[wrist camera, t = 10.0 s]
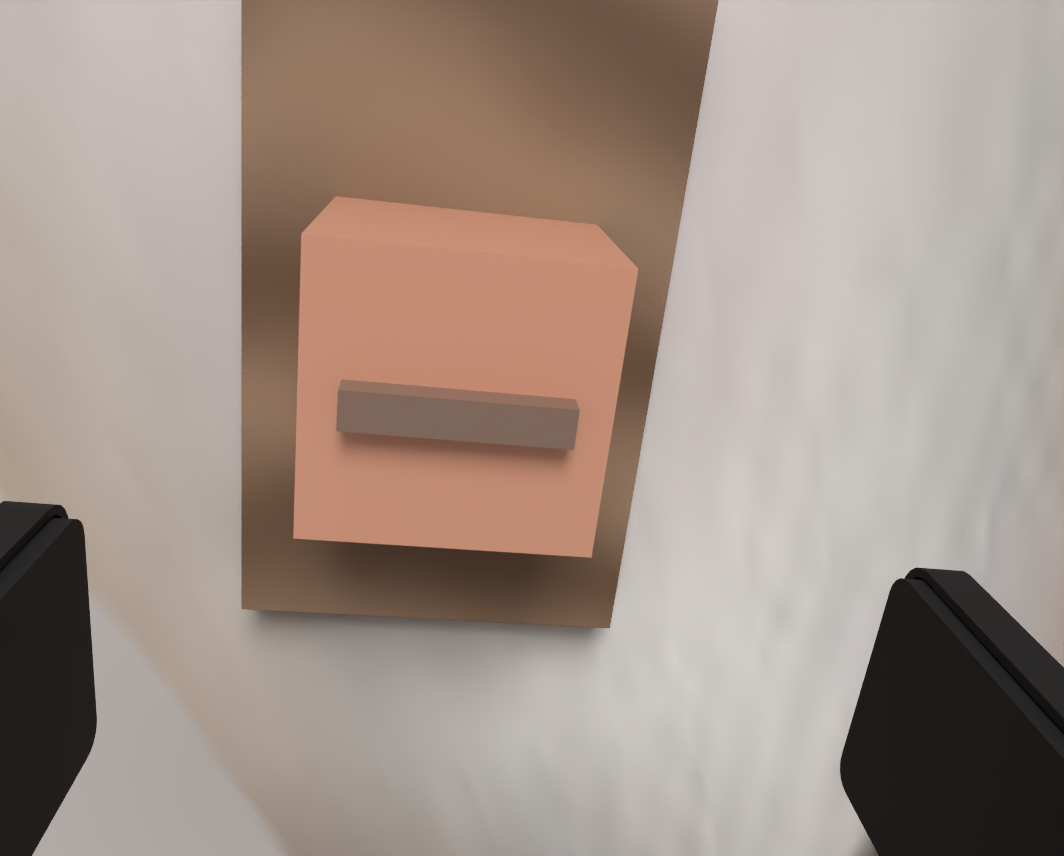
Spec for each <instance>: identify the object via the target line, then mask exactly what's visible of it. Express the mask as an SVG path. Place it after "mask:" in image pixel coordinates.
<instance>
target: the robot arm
mask: <svg viewBox="0 0 1064 856" xmlns="http://www.w3.org/2000/svg"><path fill="white" fill-rule="evenodd" d="M90 626H91V625H90V610H89V595H88V580H87V565H86V550H85V535H84V528H83V525H82V523H81V522H80V521H79V520H78V519H68V515H67V513H66V510H65V509H64V508H63V507H62V506H61V505H52V504H38V503H25V502H11V501H3V502H2V503H0V856H32V854H33V853H34V851H35V849H36V847H37V846H38V844H39V842H40V840H41V838H42V837H43V835H44V833H45V831H46V830H47V828H48V826H49V824H50V823H51V820H52V819H53V817H54V816H55V814H56V812H57V810H58V809H59V807H60V805H61V803H62V801H63V800H64V798H65V796H66V794H67V793H68V791H69V789H70V787H71V785H72V784H73V782H74V780H75V779H76V776H77V775H78V773H79V771H80V770H81V768H82V766H83V764H84V763H85V761H86V759H87V757H88V755H89V753H90V751H91V748H92V745H93V742H94V738H95V733H96V724H97V716H96V700H95V687H94V686H95V685H94V671H93V657H92V656H93V655H92V640H91V627H90ZM840 773H841V780H842V785H843V787H844V790H845V792H846V794H847V796H848V798H849V800H850V802H851V804H852V806H853V807H854V809H855V811H856V813H857V815H858V817H859V819H860V821H861V823H862V825H863V826H864V828H865V830H866V832H867V834H868V836H869V838H870V840H871V842H872V843H873V845H874V847H875V849H876V851H877V853H878V855H879V856H1064V667H1063V666H1061V665H1060V664H1059V663H1058V662H1057V661H1056V660H1055V659H1054V658H1053V657H1052V656H1051V655H1050V654H1049V653H1048V652H1047V651H1046V650H1045V649H1044V648H1043V647H1042V646H1041V645H1040V644H1039V643H1038V642H1037V641H1036V640H1035V639H1034V638H1033V637H1032V636H1031V635H1030V634H1029V633H1028V632H1027V631H1026V630H1025V629H1024V628H1023V627H1022V626H1021V625H1020V624H1019V623H1018V622H1017V621H1016V620H1015V619H1014V618H1013V617H1012V616H1011V615H1010V614H1009V613H1008V612H1007V611H1006V610H1005V609H1004V608H1003V607H1002V606H1001V605H1000V604H999V603H998V602H997V601H996V600H995V599H994V598H993V597H992V596H991V595H990V594H989V593H988V592H987V591H985V590H984V589H983V588H982V587H981V586H980V585H979V584H978V583H977V582H976V581H975V580H974V579H973V578H972V577H971V576H970V575H969V574H967V573H966V572H964V571H954V570H940V569H927V568H915V569H913V570H911V571H910V572H909V573H908V574H907V575H906V577H905V579H901V578H900V579H898V580H896V581H895V582H894V584H893V585H892V587H891V590H890V593H889V596H888V600H887V603H886V606H885V610H884V613H883V617H882V620H881V623H880V627H879V630H878V634H877V637H876V640H875V644H874V647H873V651H872V654H871V657H870V661H869V664H868V668H867V671H866V674H865V678H864V681H863V685H862V688H861V691H860V695H859V698H858V702H857V705H856V708H855V712H854V715H853V719H852V722H851V726H850V729H849V732H848V736H847V739H846V743H845V746H844V749H843V753H842V757H841V762H840Z"/></svg>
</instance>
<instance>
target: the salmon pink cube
mask: <svg viewBox="0 0 1064 856" xmlns="http://www.w3.org/2000/svg"><path fill="white" fill-rule="evenodd" d="M637 274H638V268H637V267H636V266H635V265H634V263H633V262H632V261H631V260H630V259H629V258H628V257H627V256H626V255H625V254H624V253H623V252H622V251H621V250H620V249H619V247H618V246H617V245H616V244H615V243H614V242H613V241H612V240H611V239H610V238H609V237H608V236H607V235H606V234H605V233H604V232H603V230H602V229H601V228H600V227H599V226H598V225H594V224H585V223H576V222H567V221H558V220H548V219H539V218H530V217H521V216H512V215H503V214H494V213H484V212H475V211H466V210H457V209H448V208H439V207H430V206H420V205H411V204H402V203H393V202H384V201H375V200H365V199H356V198H347V197H338V196H336V197H335V198H334V199H333V200H332V201H331V202H330V203H329V204H328V205H327V206H326V207H325V209H324V210H323V211H322V212H321V213H320V214H319V215H318V216H317V217H316V218H315V219H314V220H313V222H312V223H311V224H310V225H309V226H308V227H307V228H306V229H305V230H304V231H303V232H302V234H301V266H300V304H299V342H298V380H297V418H296V456H295V494H294V532H293V539H309V540H324V541H340V542H356V543H371V544H387V545H403V546H418V547H434V548H449V549H465V550H481V551H496V552H512V553H528V554H543V555H559V556H575V557H590V558H592V551H593V545H594V539H595V533H596V527H597V521H598V514H599V508H600V502H601V496H602V490H603V484H604V478H605V471H606V465H607V459H608V453H609V447H610V441H611V434H612V428H613V422H614V416H615V410H616V404H617V398H618V391H619V385H620V379H621V373H622V367H623V361H624V354H625V348H626V342H627V336H628V330H629V324H630V318H631V311H632V305H633V299H634V293H635V287H636V281H637Z"/></svg>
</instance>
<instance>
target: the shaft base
mask: <svg viewBox="0 0 1064 856" xmlns="http://www.w3.org/2000/svg"><path fill="white" fill-rule="evenodd" d="M717 5H718V0H242V609H251V610H270V611H290V612H309V613H328V614H347V615H366V616H385V617H405V618H424V619H443V620H462V621H481V622H500V623H520V624H539V625H558V626H577V627H596V628H610V623H611V617H612V611H613V605H614V599H615V594H616V588H617V582H618V576H619V571H620V565H621V559H622V553H623V548H624V542H625V536H626V530H627V524H628V519H629V513H630V507H631V501H632V496H633V490H634V484H635V478H636V473H637V467H638V461H639V455H640V450H641V444H642V438H643V432H644V426H645V421H646V415H647V409H648V403H649V398H650V392H651V386H652V380H653V375H654V369H655V363H656V357H657V351H658V346H659V340H660V334H661V328H662V323H663V317H664V311H665V305H666V300H667V294H668V288H669V282H670V276H671V271H672V265H673V259H674V253H675V248H676V242H677V236H678V230H679V225H680V219H681V213H682V207H683V202H684V196H685V190H686V184H687V178H688V173H689V167H690V161H691V155H692V150H693V144H694V138H695V132H696V127H697V121H698V115H699V109H700V103H701V98H702V92H703V86H704V80H705V75H706V69H707V63H708V57H709V52H710V46H711V40H712V34H713V29H714V23H715V17H716V11H717ZM336 196H338V197H347V198H356V199H365V200H375V201H384V202H393V203H402V204H411V205H420V206H430V207H439V208H448V209H457V210H466V211H475V212H484V213H494V214H503V215H512V216H521V217H530V218H539V219H548V220H558V221H567V222H576V223H585V224H594V225H598V226H599V227H600V228H601V229H602V230H603V232H604V233H605V234H606V235H607V236H608V237H609V238H610V239H611V240H612V241H613V242H614V243H615V244H616V245H617V246H618V247H619V249H620V250H621V251H622V252H623V253H624V254H625V255H626V256H627V257H628V258H629V259H630V260H631V261H632V262H633V263H634V265H635V266H636V267H637V268H638V274H637V281H636V287H635V293H634V299H633V305H632V311H631V318H630V324H629V330H628V336H627V342H626V348H625V354H624V361H623V367H622V373H621V379H620V385H619V391H618V398H617V404H616V410H615V416H614V422H613V428H612V434H611V441H610V447H609V453H608V459H607V465H606V471H605V478H604V484H603V490H602V496H601V502H600V508H599V514H598V521H597V527H596V533H595V539H594V545H593V551H592V558H590V557H575V556H559V555H543V554H528V553H512V552H496V551H481V550H465V549H449V548H434V547H418V546H403V545H387V544H371V543H356V542H340V541H324V540H309V539H293V532H294V494H295V456H296V418H297V380H298V342H299V304H300V266H301V234H302V232H303V231H304V230H305V229H306V228H307V227H308V226H309V225H310V224H311V223H312V222H313V220H314V219H315V218H316V217H317V216H318V215H319V214H320V213H321V212H322V211H323V210H324V209H325V207H326V206H327V205H328V204H329V203H330V202H331V201H332V200H333V199H334V198H335V197H336Z"/></svg>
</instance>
